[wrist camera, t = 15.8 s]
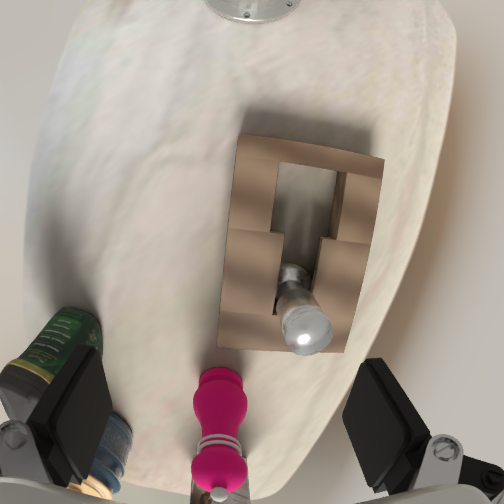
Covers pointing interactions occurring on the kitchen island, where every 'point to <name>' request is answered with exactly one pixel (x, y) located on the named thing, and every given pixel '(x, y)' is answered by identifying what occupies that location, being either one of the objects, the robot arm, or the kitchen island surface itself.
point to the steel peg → (300, 312)
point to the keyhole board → (271, 242)
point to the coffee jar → (45, 360)
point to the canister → (108, 461)
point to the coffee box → (236, 500)
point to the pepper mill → (219, 433)
